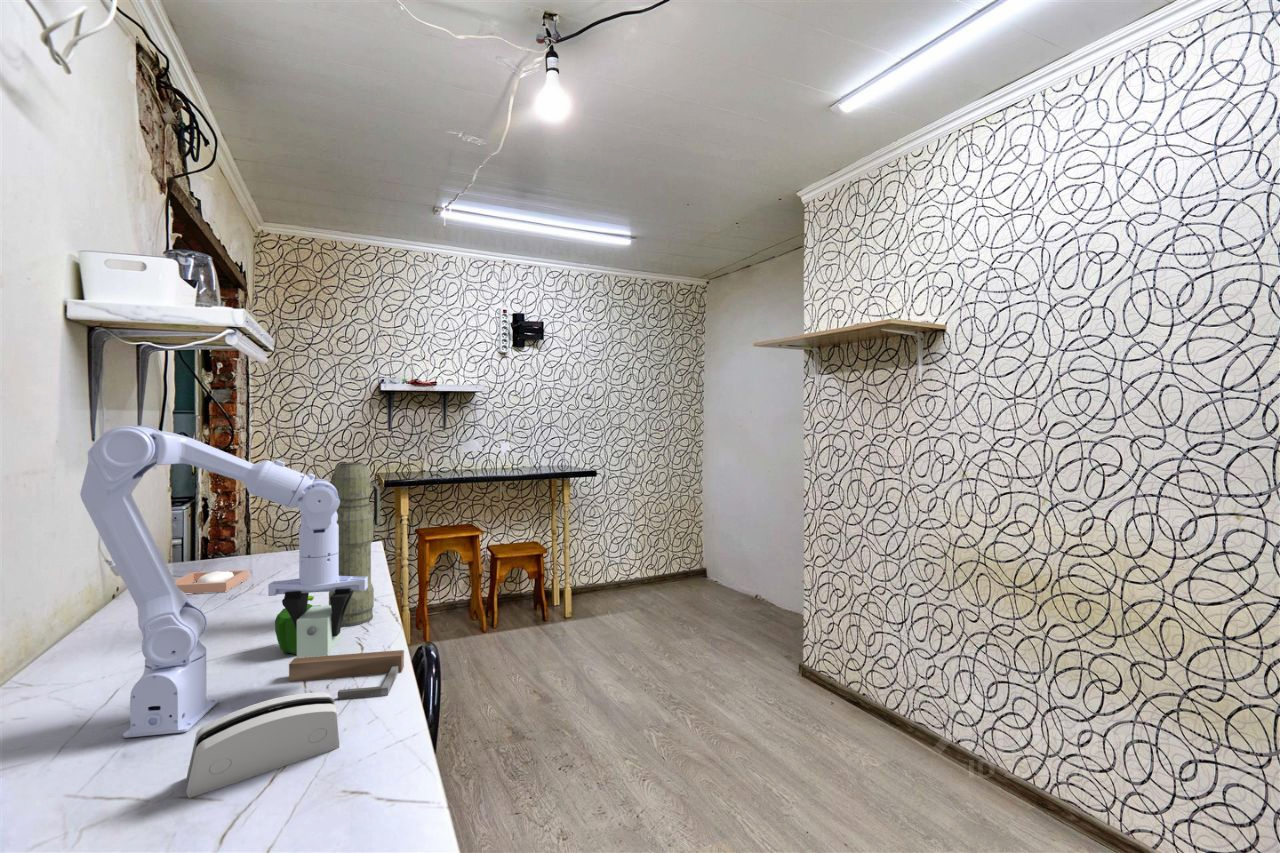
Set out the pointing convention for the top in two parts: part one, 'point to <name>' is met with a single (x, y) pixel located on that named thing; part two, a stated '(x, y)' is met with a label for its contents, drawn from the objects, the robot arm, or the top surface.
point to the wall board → (350, 670)
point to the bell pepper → (287, 630)
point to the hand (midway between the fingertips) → (319, 635)
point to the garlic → (215, 577)
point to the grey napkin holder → (262, 740)
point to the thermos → (356, 535)
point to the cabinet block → (316, 632)
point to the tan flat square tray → (189, 587)
